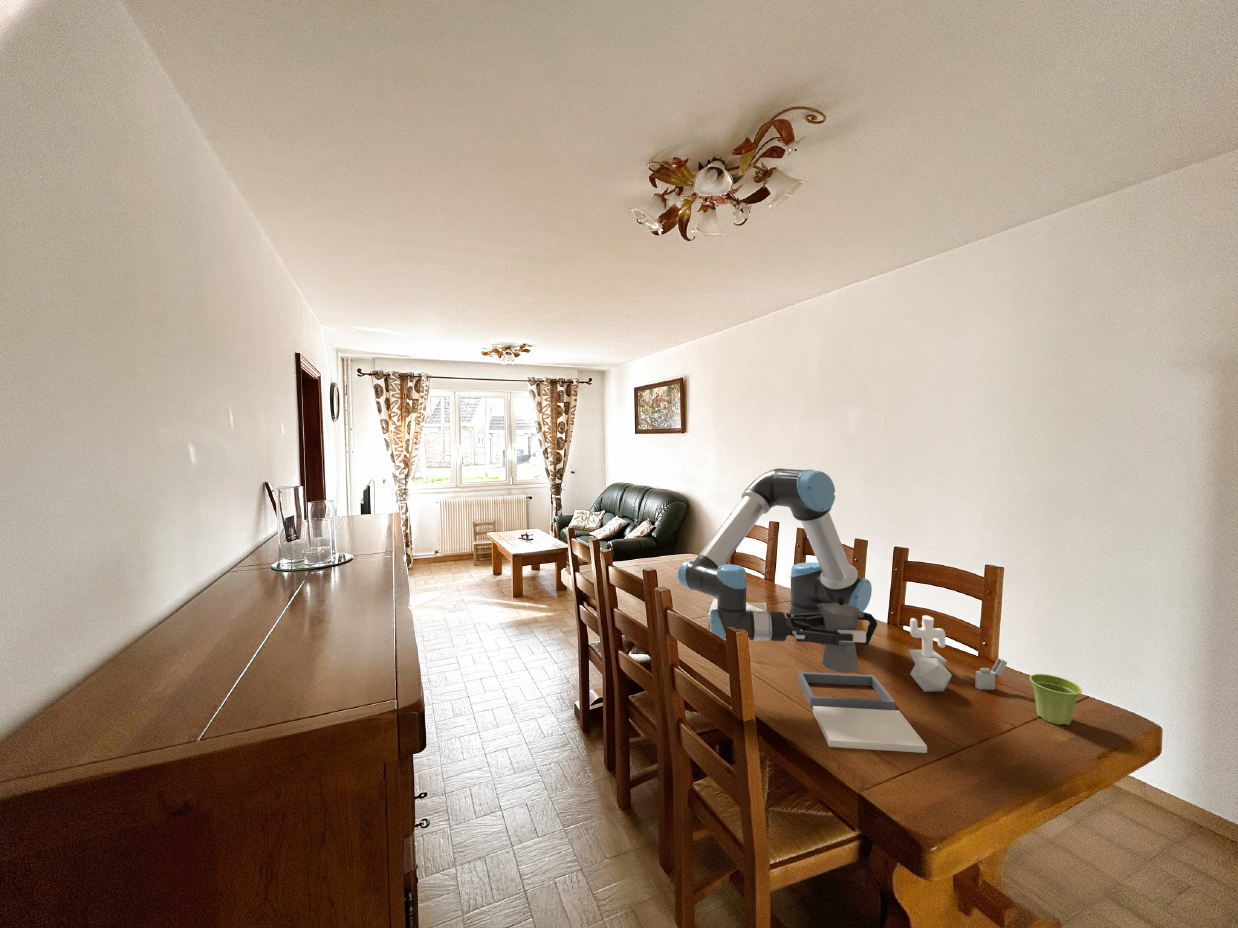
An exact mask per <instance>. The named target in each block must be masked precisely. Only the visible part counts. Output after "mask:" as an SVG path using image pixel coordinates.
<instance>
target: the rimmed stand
mask: <svg viewBox="0 0 1238 928" xmlns="http://www.w3.org/2000/svg"><path fill="white" fill-rule="evenodd" d="M797 682H798V683H799V686H800V688H801V690H802V692H803V694H804V696H805V698H806V701H807V703H808V705H809V707H810V708H812V709H813V706H822V707H841V708H859V709H878V710H896V703H897V702H896V701H895V700H894V698H893V697H892V695H890V693H889V692H888V691H887V690H886V688H885V687H884V686H883V685H882V684H881V682H880V681H879V680H878V678H877V677H876V676H875V674H859V673H858V674H856V673H855V674H854V673H836V672H834V673H833V672H832V673H831V672H811V671H798V672H797ZM809 683H810V684H827V685H828V684H829V685H830V684H831V685H850V686H870V687H872V689H873V690H874V692H875V693H876V694H877V696H878V697H879V698H876V699H875V698H863V697H861V698H859V697H842V696H841V697H839V696H838V697H837V696H820V695H819V696H818V695H814V693H813V691H812V688H811V687H810V685H809Z"/></svg>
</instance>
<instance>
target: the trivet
mask: <svg viewBox="0 0 1238 928" xmlns="http://www.w3.org/2000/svg"><path fill="white" fill-rule="evenodd" d="M812 713H813V715H814V718H815V719H816V722H817V725H818V726H819V728H820V730H821V732H822V734H823V736H824V739H825V741H826V743H827V745H828V747H830V748H842V749H843V748H844V749H860V750H875V751H886V752H887V751H889V752H891V751H892V752H904V753H905V752H906V753H921V754H927V753H928V746H927V744H926V743H925V742H924V740H923V739H922V738H921V736H920V735H919V734H918V733H917V731H916V730H915V729H914V727H912V725H911V724H910V722H909V721H908V720H907V719H906V718H905V716H904V715H903V713H902V712H901V711H900V710H897V709H895V710H878V709H859V708H841V707H822V706H813V708H812Z"/></svg>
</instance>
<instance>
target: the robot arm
mask: <svg viewBox="0 0 1238 928" xmlns="http://www.w3.org/2000/svg"><path fill="white" fill-rule="evenodd" d="M835 488H836V487H835V484H834V481H833V479H832V478H831V476H829V475H828V474H827V473H825V472H824V471H821V470H815V469H793V468H782V467H781V468H774V469H770V470H768V471H766V472H764V473H763V474H761V475H759V476H758V477H757V478H755V479H754V480H753V481H752V482H751V483H750V484H749V485H748V486H747V488H745V490H744V491H743V492H742V494H741V500H740V502H739V503H738V504H737V505H736V507H735V508H734V509H733V511H732V512H731V513H730V514H729V516H728V517H727V518H726V519H725V521H724V522H723V523H722V525H721V526H720V527H719V528H718V530H717V531H716V532H715V534H714V535H713V537H711V539H710V540H709V541H708V542H707V544H706V545H705V546H704V547H703V549H702V550H701V551H700V553H699V554H698V555H697V557H696V558H695V559H694V560H692V561H691V560H690V561H689V560H688V561H685V562H683V563H681V564H680V566H679V568H678V570H677V579H678V582H679V584H680V585H682V586H683V587H685V588H687V589H689V590H692V591H697V592H699V593H703V594H705V595H708V596H710V597H713V598H716V599H717V601H716V603H717V607H716V608H715V609H711V610H710V612H709V630H710V631H709V633H710V632H712V633H714V634H715V635H717V636H719V637H720V638H723V639H722V640H726V639H725V636H726V633H725V627H734V628H736V629H745V630H746V631H747V632H748V637H749V640H748V641H756V642H757V643H759V642H760V641H764V642H765V641H767V642H768V641H770V640H771V642H786V640H787V637H788V636H791V637H794V638H795V641H796V642H798V643H799V642H800V643H804V642H806V643H814V644H820V645H821V644H822V645H825V644H828V645H836V646H839V642H855V643H860V642H865V643H866V632H867V630H858V629H857V630H838V632H837V631H832V630H827V629H825V622H824V617H823V615H822V613H821V611H820V609H819V608H818V607H817V606H816V605H817V604H819V603H828V604H830V603H839V600H838V598H841V597H842V598H844V599H845V600H844V604H848V605H851V606H853V607H856V608H858V609H860V611H862V612H864V611H865V610H866V609H867V608H868V606H869V604H870V602H871V597H872V592H873V589H872V588H873V587H872V583H871V581H870V580H869V579H867V578H865V577H863V578H862V577H860V575H859V571H858V569H857V568H856V567H855V566H854V565H852V564H850V563H849V561H848V558H847V555H846V552H845V550H844V547H843V545H842V541H841V539H840V537H839V534H838V531H837V529H836V526H835V523H834V521H833V519H832V517H831V514H830V512H831V510H832V507H833V505H834V503H835V499H836V495H835V493H836V489H835ZM776 506H777V507H778V506H779V507H785V508H786V507H787V508H789V510H790V511H791V514H792V517H793V518H794V519H795V520H797V521H799V522H801V524H802V527H803V530H804V532H805V534H806V536H807V538H808V541H809V543H810V546H811V549H812V551H813V554H814V555H815V558H816V560H817V562H799V563H795V564H794V565H792V566H791V570H790V576H789V577H790V606H789V609H788V612H787V613H784V611H773V610H771V611H770V610H769V612H768V611H767V610H747V586H748V584H747V583H748V582H747V575H746V573H747V571H746V569H745V568H744V567H743V566H741V565H737V564H730V563H728V564H727V562H728V560H729V559H730V558H731V557H732V556H733V554H734V552H735V551H736V550H737V549H738V548H739V546H740V544H741V543H742V542H743V540H744V539H745V538H746V537H747V535H748V534H749V532H750V531H751V530H752V529H753V527H754V526H755V524H756V523H757V522H758V520H759V519H760V518H761V516H762V515H765V514H767V513H769V512H770V510H771V509H772V508H774V507H776Z"/></svg>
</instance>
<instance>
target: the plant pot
mask: <svg viewBox="0 0 1238 928" xmlns="http://www.w3.org/2000/svg"><path fill="white" fill-rule="evenodd" d="M1029 680H1030V682H1031V685H1032V688H1033V692H1034V694H1033V695H1034V700H1035V708H1036V715H1037V716H1038V717H1041V718H1042V720H1043V721H1046V722H1048V723H1051V724H1053V725H1060V726H1061V725H1067V726H1069V725H1070V724H1071V723H1072V719H1073V715H1074V710H1075V707H1076V701H1077V699H1078V698H1079V696H1080V695H1081V694H1082V691H1083V690H1082V688H1081V687H1080V685H1078V684H1077V683H1075V682H1073V681H1071V680H1069V679H1067V678H1064V677H1060V676H1056V675H1052V674H1046V673H1035V674H1031V675H1030V676H1029Z"/></svg>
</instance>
